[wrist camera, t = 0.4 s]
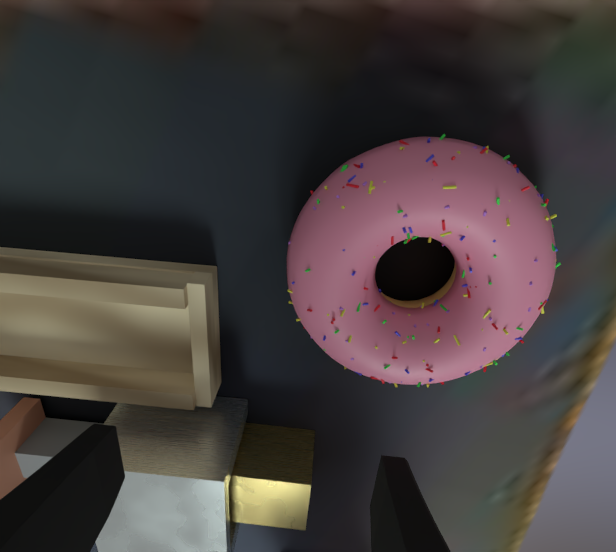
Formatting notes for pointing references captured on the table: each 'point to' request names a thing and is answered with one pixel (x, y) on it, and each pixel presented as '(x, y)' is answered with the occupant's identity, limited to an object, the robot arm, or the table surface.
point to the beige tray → (109, 329)
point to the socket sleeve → (175, 478)
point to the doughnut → (433, 224)
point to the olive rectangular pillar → (272, 477)
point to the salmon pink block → (31, 441)
